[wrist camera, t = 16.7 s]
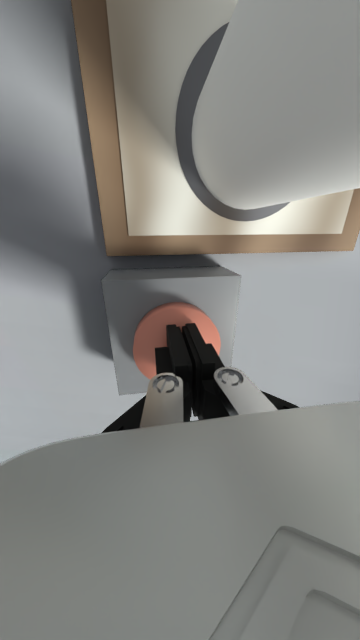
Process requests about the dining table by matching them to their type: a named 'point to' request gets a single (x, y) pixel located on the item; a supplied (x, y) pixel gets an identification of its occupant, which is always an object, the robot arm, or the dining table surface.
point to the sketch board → (176, 139)
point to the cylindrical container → (282, 104)
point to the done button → (154, 332)
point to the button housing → (160, 288)
